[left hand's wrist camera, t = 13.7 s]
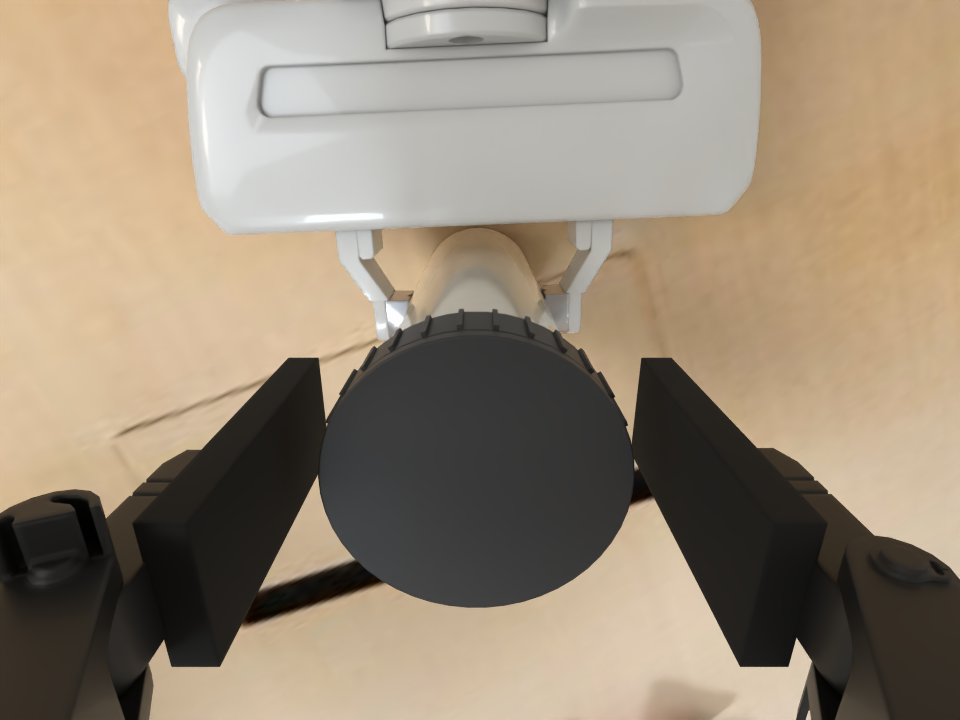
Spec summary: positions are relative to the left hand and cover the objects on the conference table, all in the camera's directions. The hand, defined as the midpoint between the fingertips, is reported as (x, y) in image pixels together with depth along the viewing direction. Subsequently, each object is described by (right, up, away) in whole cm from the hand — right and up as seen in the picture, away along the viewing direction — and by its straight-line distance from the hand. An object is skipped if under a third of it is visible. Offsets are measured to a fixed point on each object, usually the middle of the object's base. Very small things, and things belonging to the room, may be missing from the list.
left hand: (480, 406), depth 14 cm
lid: (0, -1, -3) cm, 3 cm away
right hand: (0, +2, +9) cm, 9 cm away
